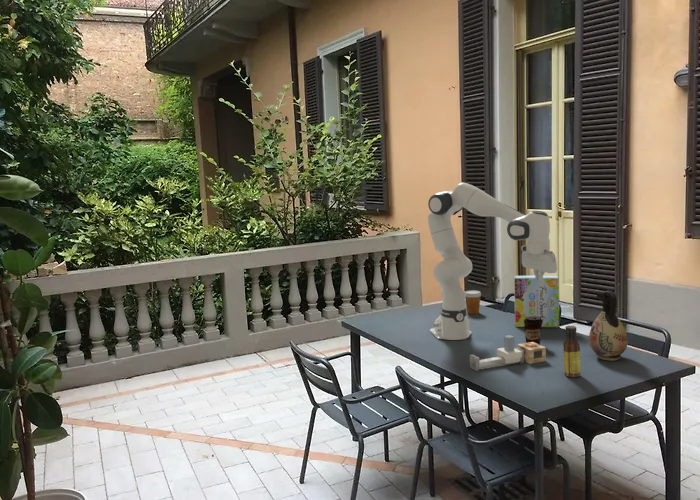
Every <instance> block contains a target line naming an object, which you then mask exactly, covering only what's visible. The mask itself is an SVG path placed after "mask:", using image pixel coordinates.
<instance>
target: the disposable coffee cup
mask: <svg viewBox="0 0 700 500" xmlns="http://www.w3.org/2000/svg"><path fill="white" fill-rule="evenodd" d="M464 292H465V308H466V311H467V312H466V314H469V315H478V314H479V313H480V304H481V296H482V293H481V291H480V290H475V289H471V290H466V291H465V290H464Z"/></svg>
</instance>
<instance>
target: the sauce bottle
mask: <svg viewBox="0 0 700 500" xmlns="http://www.w3.org/2000/svg"><path fill="white" fill-rule="evenodd" d="M565 334H566V335H565V339H564V341H563V345H562V346H563V350H562V351H563V352H562V353H563V372H564V375H565V376H566V377H568V378H579V377H580V376H581V368H582V367H581V348H580V343H579V341H578V339H577V327H576V326H575V325H566V326H565Z"/></svg>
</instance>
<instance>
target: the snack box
mask: <svg viewBox="0 0 700 500" xmlns="http://www.w3.org/2000/svg"><path fill="white" fill-rule="evenodd" d="M513 277H514V279H513V280H514V284H513V285H514V322H515V323H514V324H515V325H514V326H515V328H525V324H524V320H525V319H526V317H531V316H537V317H541V320H542V321H543V323H542V327H541V328H559V327H560V299H559V298H560V297H559V295H560V293H559V291H560V290H559V285H560V282H559V277H558V275H556V274H555V275H554V274H553V275H552V274H551V275H550V274H549V275H546V274H544V275H543V280H542V281H539V280H536V279H535V274H534V275H514V276H513Z"/></svg>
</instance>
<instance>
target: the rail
mask: <svg viewBox="0 0 700 500" xmlns="http://www.w3.org/2000/svg"><path fill="white" fill-rule="evenodd" d="M514 348H515V349H517V350H519V351H522V357H521V358H520V361H519V362H513V363H507V364H506V363H505V358H503V357H501V356H500V357H498V356H496V357H495V356H494V357H490V358H482V359H480V357H479V356H476V355H475V354H469V368H470V369H472V370H473V369H474V370H473V371H475V372H480V371H479V369H481V370H484V369H485V368H486V369H492V368H497V367H502V366H503V367H504V366H508V365H514V364H515V365H516V364H524V363H525V361H524V350H522V349H520V348H518V347H517V346H516V347H515V346H514ZM491 367H492V368H491Z"/></svg>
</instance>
